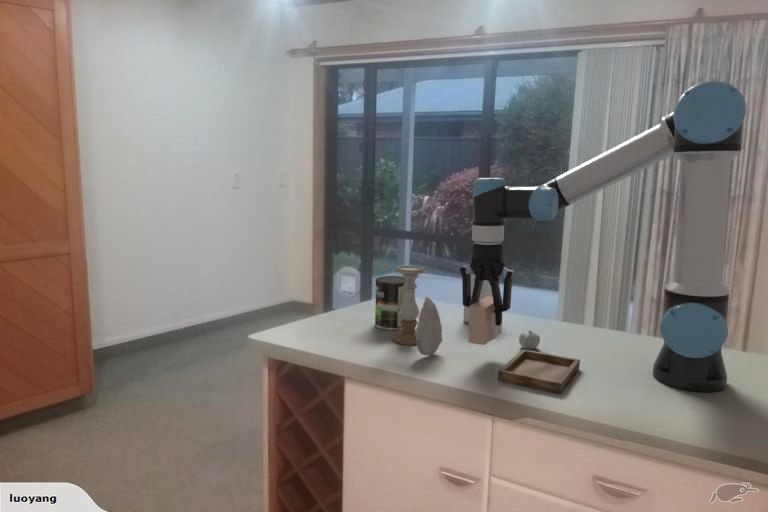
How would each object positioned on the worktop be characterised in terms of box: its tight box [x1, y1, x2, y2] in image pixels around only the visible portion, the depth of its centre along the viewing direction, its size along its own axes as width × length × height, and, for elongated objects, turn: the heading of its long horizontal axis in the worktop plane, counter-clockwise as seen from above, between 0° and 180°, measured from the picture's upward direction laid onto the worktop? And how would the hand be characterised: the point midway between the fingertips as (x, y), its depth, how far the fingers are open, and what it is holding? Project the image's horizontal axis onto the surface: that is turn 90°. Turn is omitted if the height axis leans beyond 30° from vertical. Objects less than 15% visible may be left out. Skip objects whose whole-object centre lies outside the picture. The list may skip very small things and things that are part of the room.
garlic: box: [518, 329, 541, 350], centre depth 154 cm, size 6×5×5 cm
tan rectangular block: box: [468, 296, 503, 346], centre depth 142 cm, size 4×12×9 cm, turn 149°
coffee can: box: [374, 275, 405, 331], centre depth 172 cm, size 10×10×14 cm
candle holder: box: [392, 265, 425, 346], centre depth 157 cm, size 9×9×20 cm
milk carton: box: [463, 269, 493, 323], centre depth 178 cm, size 7×7×19 cm
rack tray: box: [497, 348, 581, 395], centre depth 135 cm, size 14×18×2 cm
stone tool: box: [415, 296, 443, 356], centre depth 146 cm, size 9×3×15 cm, turn 140°
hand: (485, 336), depth 143 cm, fingers closed on tan rectangular block, 4 cm apart
